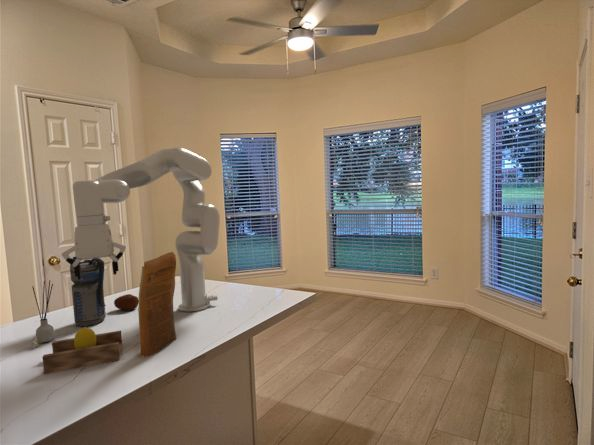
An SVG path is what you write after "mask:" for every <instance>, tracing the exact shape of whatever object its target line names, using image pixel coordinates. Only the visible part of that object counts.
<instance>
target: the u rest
mask: <svg viewBox="0 0 594 445" xmlns="http://www.w3.org/2000/svg"><path fill="white" fill-rule="evenodd" d="M95 335H96V345H95V346H93V347H87V348H81V349H76V348H75V345H74V338H75V337H72V338H66V339H60V340H54V341H52V342H51V350H52V353H47V354H43V355H42V356H41V357H42V368H43V375H47V374H52V373H58V372H62V371H63V372H64V371H69V370H73V369H79V368H85V367H91V366H95V365H101V364H105V363H110V362H116V361H120V359H121V354H122V350H123V349H122V348H123V336H122V335H123V334H122V330H115V331H110V332H104V333H97V334H96V333H95Z"/></svg>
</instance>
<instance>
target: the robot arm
mask: <svg viewBox="0 0 594 445" xmlns="http://www.w3.org/2000/svg"><path fill="white" fill-rule="evenodd" d="M169 173H172V175H173V177H174V179H175V180H176V181H177V183H178V184H179V186H181V188H182V192H183V200H182V211H181V222H182V225H183V226H185V227H187V228H191V229H193V228H195V229H196V228H197V229H198V228H200V230H185V231H182V232H180V233H179V234H178V235H177V236H176V238H175V242H174V243H175V249H176V252H177V257H178V264H179V276H180V290H181V291H180V293H181V303H180V304H179V305H178V306H177V307H178V308H177V309H178V310H179V311H180V312H198V311H202V310H205V309H208V308H209V307H210V306H211V302H212V301H213V302H214V301H218V296H217V295H213V294H212V295H207V294H206V283H205V282H206V279H205V265H204V260H203V258H202V256H210V255H212V254H215V252H216V250H217V247H218V241H219V234H220V233H219V232H220V231H219V230H220V222H221V221H220V219H221V218H220V213H219V210H218V209H217V207H216V206H215V205H213V204H210V203H206V194H205V190H204V189H205V188H204V186H203V185H202V184H201V182H202V181H206V180H208V179H209V178H210V177H211V176H212V166H211V164H210V163H209V160H207V159H206V158H204V157H202V156H201V155H200V156H199V155H198V154H197V153H194V152H193V151H190V150H188V149H186V148H183V147H170V148H165V149H160V150H158V151H156V152H154V153H152V154H150V155H148V156H146V157H144V158H142V159H141V160H138V161H136V162H133V163H131V164H128V165H126V166H124V167H121V168H118V169H116V170H113V171H111V172H108V173H106V174H105V175H102V176H100V177H97V179H95V180H92V179H91V180H78V181H74V182H73V184H72V194H73V201H74V203H73V204H74V210H75V218H76V225H77V226H75V227H74V241H73V242H74V246H71V247H69V249H66V250H65V251H63V252H61V256H62V258H63V259H64V260H65V261H66V262H67V263H68V264H69V265H72V266H73V267H74V270H75V277H78V280H79V279H81V278H82V272H81V265H79V262H82V260H83V261H84V260H92V259H93V258H100V259H102V258H110V259H111V260H112V261H111V265H112V274H113V275H114V276H115V275H117V272H118V271H119V262H118V261H119V260H120V258H121V257H123V255H124V252H125V250H126V248H127V247H126V245H124V244H120V243H118V242H114V241H113V236H112V232H111V228H110V226H109V224H108V223H106V222H108V221H111V216H110V215H106V214H105V208H104V204H118V203H122V202H124V201H126V200H127V199H128V198H129V197H130V194H131V190H130V189H135V188H141V187H144V186H148V185H150V184H152V183H154V182H155V181H157V180H159V179H160V178H162V177H164V176H165V175H167V174H169ZM200 181H201V182H200ZM114 248H116V249H119V252H118V253H117V254H115V253H114ZM72 253H74V254H75V256H76V258H77V259H76V260H73V257H70V254H72Z"/></svg>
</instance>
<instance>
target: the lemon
mask: <svg viewBox="0 0 594 445" xmlns="http://www.w3.org/2000/svg"><path fill="white" fill-rule="evenodd" d="M73 338H74V345H75V348H76V349H81V348H87V347H93V346H95V345H96V333H95V331H94V330H93V329H91V328H89V327H87V326H82V328H81V329H79V330H78V331H77V332H76V333H75V335H74V337H73Z"/></svg>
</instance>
